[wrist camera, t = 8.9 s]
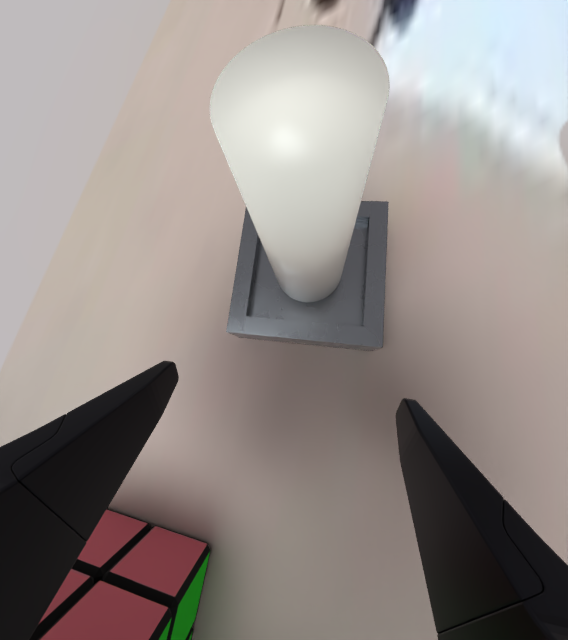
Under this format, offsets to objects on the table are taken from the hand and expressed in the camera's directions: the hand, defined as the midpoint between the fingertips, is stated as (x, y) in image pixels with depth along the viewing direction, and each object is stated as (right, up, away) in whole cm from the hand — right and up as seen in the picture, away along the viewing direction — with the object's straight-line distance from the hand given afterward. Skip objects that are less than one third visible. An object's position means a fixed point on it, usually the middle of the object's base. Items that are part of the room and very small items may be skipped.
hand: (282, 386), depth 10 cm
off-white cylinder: (+2, +6, +9) cm, 12 cm away
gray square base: (+2, +6, +12) cm, 13 cm away
